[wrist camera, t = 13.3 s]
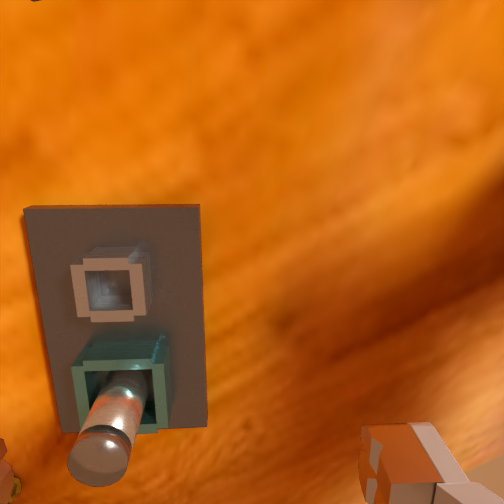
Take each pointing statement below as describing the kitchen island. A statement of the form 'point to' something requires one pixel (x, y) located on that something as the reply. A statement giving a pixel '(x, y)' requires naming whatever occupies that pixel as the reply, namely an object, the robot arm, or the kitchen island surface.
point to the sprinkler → (15, 490)
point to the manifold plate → (122, 306)
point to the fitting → (110, 429)
